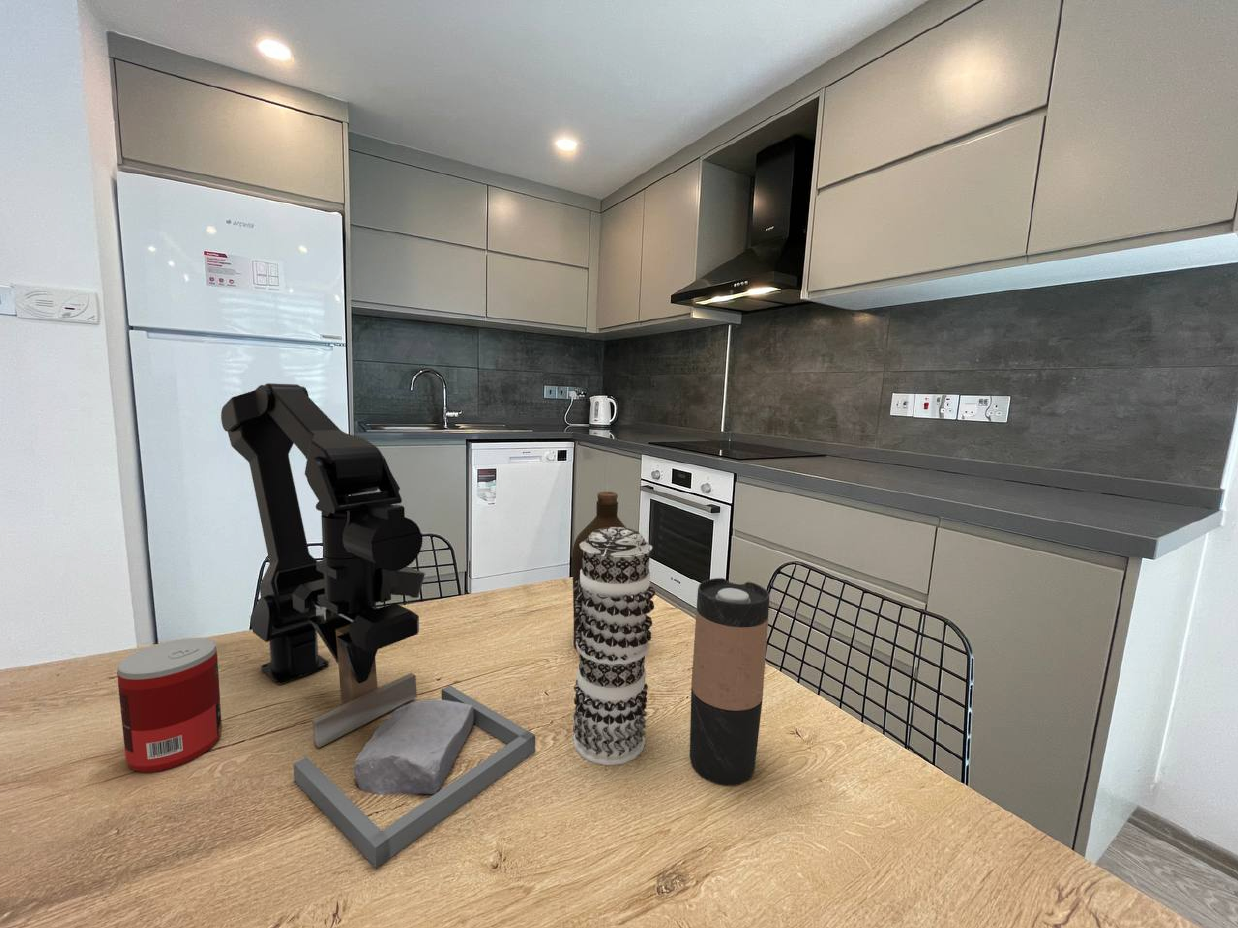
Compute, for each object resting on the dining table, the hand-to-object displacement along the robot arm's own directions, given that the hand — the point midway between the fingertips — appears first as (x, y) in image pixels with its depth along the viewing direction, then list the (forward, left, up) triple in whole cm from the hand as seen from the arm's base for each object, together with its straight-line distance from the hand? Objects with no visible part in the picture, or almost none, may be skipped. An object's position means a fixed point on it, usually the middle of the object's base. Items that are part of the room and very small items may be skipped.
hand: (355, 676), depth 62 cm
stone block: (+11, +1, -6) cm, 13 cm away
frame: (+13, 0, -5) cm, 14 cm away
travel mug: (+39, +21, -5) cm, 44 cm away
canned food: (-9, -15, -5) cm, 18 cm away
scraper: (0, 0, -5) cm, 5 cm away
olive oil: (+12, +34, -5) cm, 36 cm away
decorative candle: (+27, +16, -5) cm, 32 cm away
